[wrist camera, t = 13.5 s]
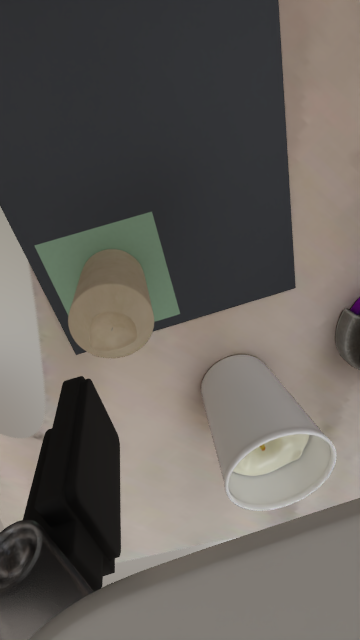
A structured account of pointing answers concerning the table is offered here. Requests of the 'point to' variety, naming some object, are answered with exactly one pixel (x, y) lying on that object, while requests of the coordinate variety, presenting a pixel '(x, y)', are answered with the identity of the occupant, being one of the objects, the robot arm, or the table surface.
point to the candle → (111, 306)
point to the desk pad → (148, 147)
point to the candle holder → (263, 436)
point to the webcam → (349, 335)
